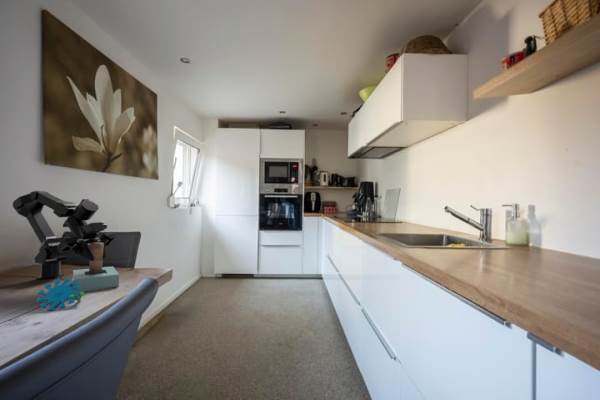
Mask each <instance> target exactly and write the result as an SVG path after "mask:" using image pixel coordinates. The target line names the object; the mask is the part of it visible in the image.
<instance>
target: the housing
mask: <svg viewBox="0 0 600 400" xmlns="http://www.w3.org/2000/svg"><path fill="white" fill-rule="evenodd" d="M74 280H76V282H77V284H76V285H72V287H75V286H78V285H80V290H76V289H73V290H72V291H73V292H79V293H80V292H81V291H84V292H89V291H95V290H102V289H104V290H105V289H109V288H116V287H119V285H120V273H119V272H118V271H117V270H116V268H115V267H114V265H113V266H104V267H103V266H102V274H93V275H89V268H83V269H74V270H72V279H71V282H72V281H74Z"/></svg>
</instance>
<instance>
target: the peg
mask: <svg viewBox="0 0 600 400" xmlns="http://www.w3.org/2000/svg"><path fill="white" fill-rule="evenodd" d="M103 246H104V243H91V244H90V248H89V250H90V252H91V253H92V255H93V257H94V260H93V261H91V260H89V263H88V264H89V266H88V269H89V275H93V274H102V267H103V263H104V262H103V260H104V259H103Z"/></svg>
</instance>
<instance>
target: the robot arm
mask: <svg viewBox="0 0 600 400" xmlns="http://www.w3.org/2000/svg"><path fill="white" fill-rule="evenodd" d="M45 206H46V207H47V208H49V209H51V210H53V214H54V215H56V216H57V217H58V218H66V219H65V220H64V222H63V224H62V227H63V228H68V229H69V231H70V232H71V234H70V235H69V237H68V236H67V237H57V236H56V235H55V233H54V231H53V229H52V228H51V226H50V225H49V223H48V221H47V220H46V218H45V217H44V215H43V212H42V211H43V209H44V207H45ZM12 207H13V209H14V210H15V212H16V213H17V214H18V215H19V216H22V217H25V218H26V219H27V221H28V223H29V224H30V226H31V229H32V230H33V232H34V233H35V235H36V236H37V239H38V240H39V242H40V246H39V249H38V253H37V254H36V256H35V257H34V263H35V264H40V265H41V270H40V275H39V276H37V277H36V280H39V279H40V280H43V279H58V278H59V277H61V276H62V277H63V276H64V275H65V274H64V273H63V272H61V262H63V261H68V257H69V254H70V253H71V254H76V255H79V256H81V257H83V258H85V259H87V260H89V261H90V260H91V261H93V260H94V257H93V255H92V253H91V252H90V248H89V247H88V246H91V243H104V246H103V260H105V259H106V256H107V255H106V247H109V246H110V245H111V244H112V243H113V242H114V241H115V240H116V238H117V237H116V236H115V234H114V233H104V234H102V235H101V236H100V237H98V236H99V235H100V234H99V233H101V232H103V231H105V230H106V229H108V224H107V222H106V221H104V220H102V221H99V222H98V221H97V222H95V221H94V222H90V223H88V222H87V221H89V220H90V219H92V217H93V216H94V215H95V214H96V213H97V212H98V211H99V205H98V203H97V204H96V203H95V202H94V201H91V200H90V199H88V198H82V199H81V200H80V203H78V202H72V201H66V200H63V199H60V198H59V197H57V196H54V195H52V194H50V193H49V192H48V191H46V190H45V191H44V190H43V191H42V190H32V191H30V193H27V194H24V195H21V196H19V197H18V198H15V200H13V202H12ZM70 247H71V248H70Z"/></svg>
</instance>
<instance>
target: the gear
mask: <svg viewBox="0 0 600 400" xmlns="http://www.w3.org/2000/svg"><path fill="white" fill-rule="evenodd" d="M70 281H71V282H70ZM53 282H54V284H53V287H52V285H51V283H46V284H45V285H44V288H45V289H47V290H48V291H47V292H45V291H44V289H41V290H39V291H38V292H37V294H38V296H39V297H37V299H36V303H38V304H39V303H40V304H39V305H40V308H41V309H45V308H46V307H47V306H48V307H47V309H48V310H49V311H54V310H55V309H56V307H57V305H58V309H59V310H62V309H65V308H66V306H65V303H66V301H67V300H68V301H67V303H68V305H72V304H74V303H75V301H77V302H78V303H81V301H82V300H81V299H82V297H85V295H86V294H85V291H81V292H74V291H73V289H76V290H80V285H78V286H75V287H73V285H76V284H77V282H76V280H74V281H72V280H71V279H70V278H68V277H67V278H66V277H65V278H64V280H63V281H62V282H61V280H60V279H59V278H56V279H55V280H54V281H53ZM41 296H45V297H44V298H43V297H41Z"/></svg>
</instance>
